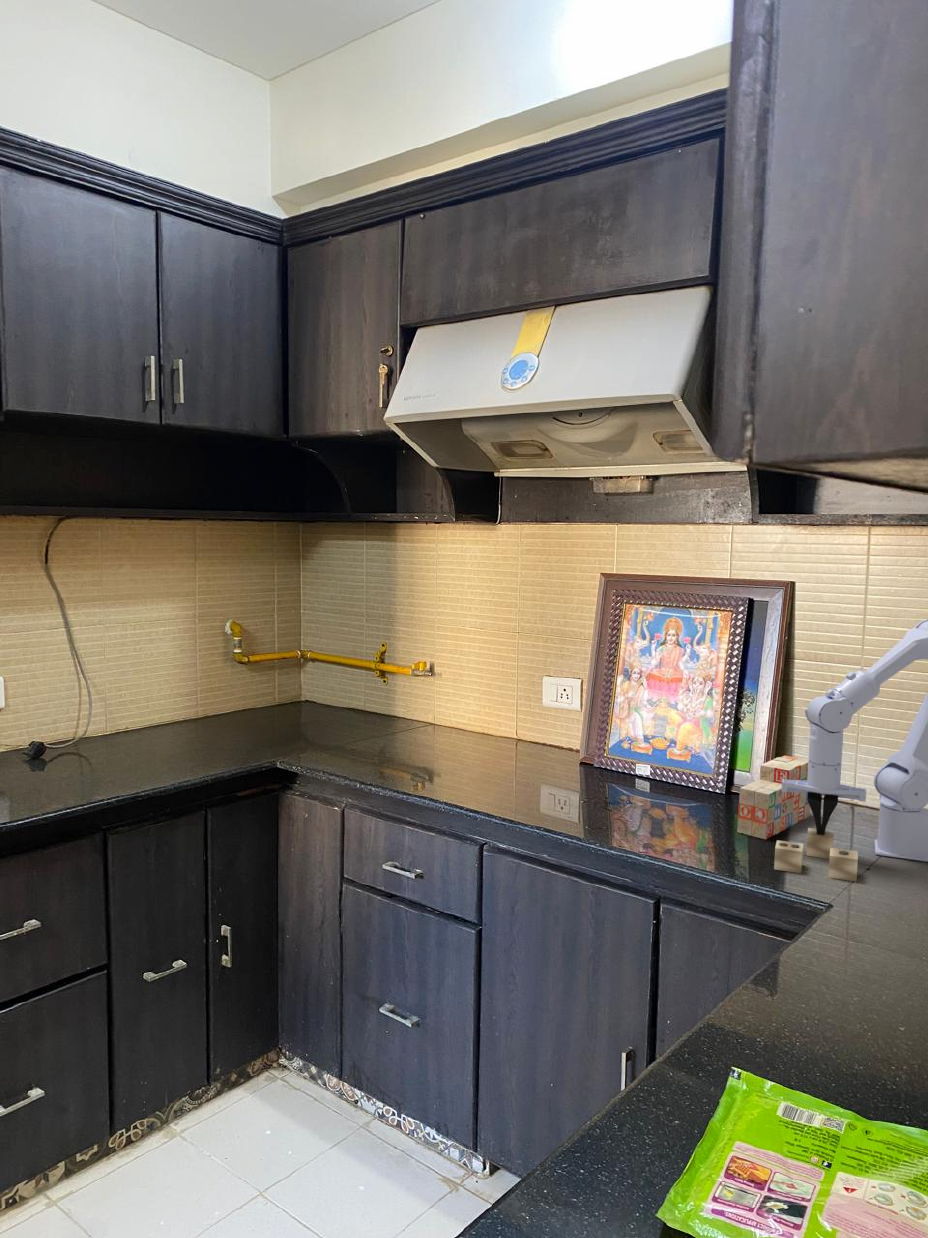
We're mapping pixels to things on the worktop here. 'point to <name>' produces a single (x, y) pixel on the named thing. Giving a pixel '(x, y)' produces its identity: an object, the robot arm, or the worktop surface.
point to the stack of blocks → (773, 799)
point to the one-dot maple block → (843, 864)
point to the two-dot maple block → (788, 856)
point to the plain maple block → (819, 843)
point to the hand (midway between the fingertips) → (820, 833)
